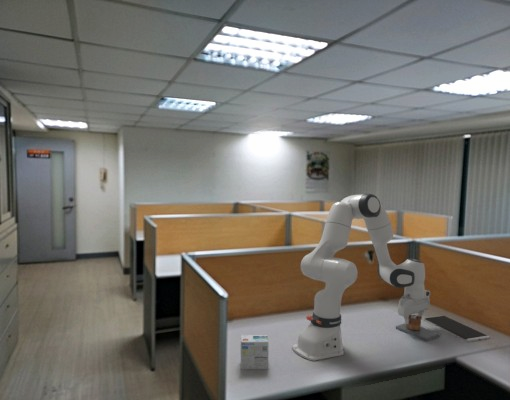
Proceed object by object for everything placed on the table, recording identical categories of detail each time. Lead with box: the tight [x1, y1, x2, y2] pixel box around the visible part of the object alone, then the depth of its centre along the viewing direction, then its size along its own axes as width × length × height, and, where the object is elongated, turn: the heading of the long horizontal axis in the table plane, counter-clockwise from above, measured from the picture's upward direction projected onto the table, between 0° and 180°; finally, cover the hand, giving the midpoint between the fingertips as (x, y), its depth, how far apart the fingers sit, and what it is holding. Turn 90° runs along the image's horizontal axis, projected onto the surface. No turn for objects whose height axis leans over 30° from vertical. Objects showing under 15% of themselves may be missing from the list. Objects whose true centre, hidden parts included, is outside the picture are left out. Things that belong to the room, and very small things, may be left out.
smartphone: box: [423, 315, 491, 343], centre depth 173 cm, size 13×27×2 cm, turn 17°
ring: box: [406, 314, 422, 330], centre depth 169 cm, size 6×6×5 cm
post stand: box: [395, 314, 440, 342], centre depth 168 cm, size 10×16×7 cm, turn 33°
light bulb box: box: [240, 334, 269, 370], centre depth 136 cm, size 11×7×11 cm, turn 92°
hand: (413, 321), depth 169 cm, fingers open, 8 cm apart
